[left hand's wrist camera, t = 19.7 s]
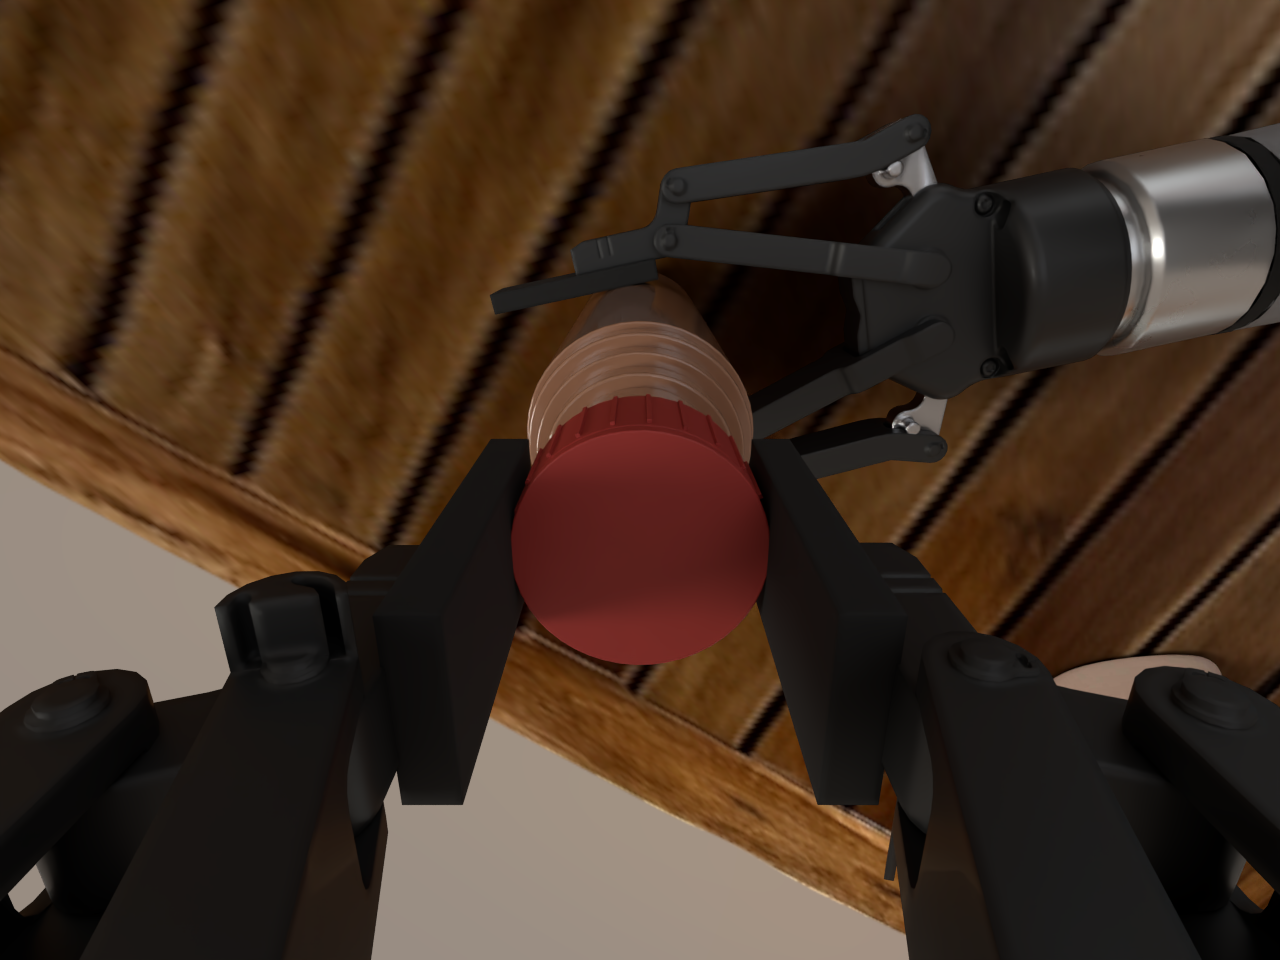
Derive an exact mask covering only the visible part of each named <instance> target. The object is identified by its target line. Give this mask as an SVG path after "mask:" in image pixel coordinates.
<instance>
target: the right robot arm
mask: <svg viewBox="0 0 1280 960" xmlns="http://www.w3.org/2000/svg"><path fill="white" fill-rule="evenodd" d="M930 135H931V125H930V123H929V121H928V119H927V118H926V117H924V116H923V115H919V114H914V115H911V116H908V117H905V118H903V119H900V120H897V121H895V122H892V123H889V124H887V125H885V126H883V127H881V128H879V129H877V130H876V131H874V132H872V133H870V134H868V135H867V136H865V137H863V138H861V139H859V140H858V141H856V142H850V143H844V144H837V145H830V146H824V147H817V148H810V149H803V150H797V151H790V152H783V153H777V154H770V155H763V156H756V157H750V158H743V159H736V160H730V161H723V162H716V163H709V164H703V165H696V166H689V167H682V168H676V169H673V170H670V171H669V172H668V173H667V174H666V175H665V176H664V178H663V180H662V181H661V184H660V191H659V198H658V205H657V211H656V215H655V217H654V219H653V221H652V222H651V223H650V224H649V225H648V226H646V227H644V228H641V229H637V230H632V231H628V232H623V233H619V234H614V235H609V236H605V237H600V238H596V239H591V240H587V241H583V242H581V243H580V244H578V245H577V246H576V247H574V248H573V249H571V250H570V251H571V255H572V259H573V264H574V268H575V272H576V273H572V274H567V275H562V276H558V277H553V278H549V279H544V280H539V281H535V282H530V283H526V284H521V285H516V286H512V287H507V288H503V289H501V290H499V291H497V292H495V293H493V294H491V295H490V297H491V301H492V305H493V308H494V312H495V314H500V313H505V312H509V311H514V310H519V309H523V308H528V307H533V306H537V305H542V304H547V303H551V302H556V301H561V300H565V299H570V298H575V297H579V296H584V295H589V294H593V293H598V292H603V291H607V290H612V289H617V288H621V287H625V286H631V285H635V284H640V283H645V282H649V281H654V280H659V278H658V273H657V268H656V262H655V259H660V258H665V257H672V258H681V259H690V260H699V261H709V262H718V263H727V264H736V265H745V266H754V267H763V268H772V269H782V270H791V271H800V272H809V273H818V274H827V275H833V276H838V279H839V289H840V293H841V296H842V299H843V301H844V304H845V306H846V310H847V311H846V317H845V323H844V338H845V342H843V343H841V344H840V345H838V346H836V347H834V348H832V349H830V350H829V351H827V352H826V353H825V354H824V355H823V357H821V358H820V359H818V360H816V361H815V362H813V363H811V364H809V365H807V366H805V367H803V368H801V369H800V370H798V371H796V372H794V373H792V374H790V375H788V376H786V377H785V378H783V379H781V380H779V381H777V382H775V383H773V384H771V385H770V386H768V387H766V388H764V389H762V390H760V391H758V392H756V393H755V394H753V395H751V396H749V397H748V398H749V401H750V405H751V410H752V416H753V431H754V432H753V439H763V438H765V437H767V436H769V435H771V434H773V433H775V432H777V431H779V430H781V429H782V428H784V427H786V426H788V425H790V424H792V423H794V422H796V421H798V420H800V419H802V418H804V417H806V416H807V415H809V414H811V413H813V412H815V411H817V410H819V409H821V408H823V407H825V406H827V405H829V404H831V403H832V402H834V401H836V400H838V399H840V398H842V397H844V396H846V395H849V394H856V393H860V392H862V391H865V390H867V389H869V388H871V387H872V386H874V385H876V384H878V383H880V382H882V381H884V380H886V379H890V380H893V381H895V382H897V383H899V384H901V385H903V386H905V387H908V388H910V389H912V390H914V391H916V392H917V393H916V395H915V397H914V398H913V400H912V401H911V402H909V403H907V404H905V405H900V406H896V407H894V408H893V409H891V410H890V411H889V412H888V415H887V417H886V418H873V419H866V420H861V421H856V422H852V423H849V424H845V425H841V426H837V427H833V428H830V429H826V430H822V431H818V432H814V433H810V434H807V435H803V436H799V437H795V438H791V439H790V441H791V442H792V444H793V445H794V447H795V448H796V450H797V451H798V453H799V454H800V456H801V457H802V459H803V460H804V462H805V463H806V465H807V466H808V467H809V469H810V470H811V472H812V473H813V475H814V476H815V478H816V479H818V478H822V477H826V476H830V475H834V474H838V473H842V472H846V471H850V470H853V469H857V468H861V467H865V466H869V465H873V464H877V463H881V462H885V461H889V460H899V461H913V462H927V463H932V462H937V461H939V460H941V459H942V458H943V457H944V456H945V454H946V452H947V443H946V441H945V440H944V439H943V438H942V437H941V436H939V432H940V428H941V424H942V420H943V416H944V412H945V407H946V403H947V399H949V398H952V397H954V396H956V395H958V394H960V393H961V392H962V391H964V390H965V389H966V388H968V387H969V386H971V385H972V384H974V383H976V382H979V381H981V380H985V379H991V378H997V377H1003V376H1009V375H1014V374H1019V373H1024V372H1029V371H1034V370H1039V369H1044V368H1049V367H1054V366H1059V365H1064V364H1069V363H1074V362H1079V361H1084V360H1087V359H1089V358H1091V357H1093V356H1094V355H1096V354H1097V355H1101V356H1109V355H1118V354H1122V353H1127V352H1132V351H1136V350H1141V349H1146V348H1150V347H1155V346H1159V345H1164V344H1169V343H1173V342H1178V341H1183V340H1187V339H1192V338H1197V337H1201V336H1206V335H1213V334H1220V333H1225V332H1231V331H1233V330H1238V329H1244V328H1249V327H1255V326H1260V325H1266V324H1271V323H1277V322H1280V123H1278V124H1274V125H1270V126H1266V127H1261V128H1257V129H1253V130H1249V131H1245V132H1241V133H1236V134H1232V135H1228V136H1217V137H1212V138H1204V139H1200V140H1195V141H1190V142H1186V143H1181V144H1176V145H1171V146H1167V147H1162V148H1157V149H1153V150H1148V151H1143V152H1139V153H1134V154H1129V155H1125V156H1120V157H1115V158H1111V159H1106V160H1101V161H1098V162H1095V163H1091V164H1088V165H1086V166H1085V167H1084V168H1082V169H1076V168H1065V169H1060V170H1055V171H1051V172H1046V173H1041V174H1037V175H1032V176H1027V177H1023V178H1018V179H1014V180H1009V181H1004V182H1000V183H995V184H990V185H986V186H981V187H976V188H972V189H961V188H957V187H954V186H952V185H949V184H945V183H937V181H936V178H935V175H934V172H933V169H932V166H931V163H930V161H929V158H928V155H927V152H926V149H925V145H926V143H927V142H928V140H929V139H930ZM861 176H866V179H867V181H868V182H869V184H870V185H872V186H873V187H875V188H885V187H891V186H894V187H897V188H899V189H900V190H901V191H902V193H903V195H904V197H903V198H902V199H901V200H900V201H899V202H898V203H897V204H896V205H895V206H894V207H893V208H892V209H891V210H890V211H889V212H888V213H887V214H886V216H885V217H884V218H883V219H882V220H881V221H880V222H879V223H878V224H877V225H876V226H875V227H874V228H873V229H872V230H871V231H870V232H869V233H868V234H867V235H866V236H865V237H864V238H863V239H862V240H861V241H860V242H859V243H858V244H852V243H843V242H834V241H825V240H816V239H807V238H798V237H789V236H780V235H771V234H762V233H753V232H744V231H735V230H726V229H717V228H708V227H699V226H690V225H687V223H688V216H689V210H690V204H691V202H698V201H705V200H712V199H719V198H725V197H732V196H739V195H746V194H753V193H760V192H766V191H773V190H780V189H787V188H794V187H801V186H807V185H814V184H821V183H828V182H835V181H840V180H846V179H851V178H856V177H861ZM749 467H750V461H749Z"/></svg>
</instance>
